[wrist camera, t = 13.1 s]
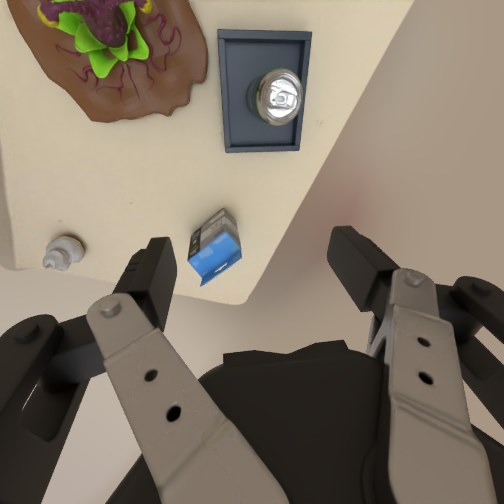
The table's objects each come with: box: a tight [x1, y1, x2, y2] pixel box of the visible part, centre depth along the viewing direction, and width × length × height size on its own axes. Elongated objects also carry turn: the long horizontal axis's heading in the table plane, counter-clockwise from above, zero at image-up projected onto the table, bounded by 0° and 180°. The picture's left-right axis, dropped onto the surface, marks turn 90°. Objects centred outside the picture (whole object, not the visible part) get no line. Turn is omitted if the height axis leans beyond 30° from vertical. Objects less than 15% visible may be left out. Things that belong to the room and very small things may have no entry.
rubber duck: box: [43, 236, 84, 271], centre depth 39 cm, size 5×7×8 cm
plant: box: [7, 0, 208, 123], centre depth 23 cm, size 20×20×11 cm
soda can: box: [246, 68, 303, 126], centre depth 27 cm, size 5×5×12 cm
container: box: [217, 29, 312, 153], centre depth 32 cm, size 14×12×3 cm
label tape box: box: [187, 209, 242, 287], centre depth 39 cm, size 9×4×12 cm, turn 128°
